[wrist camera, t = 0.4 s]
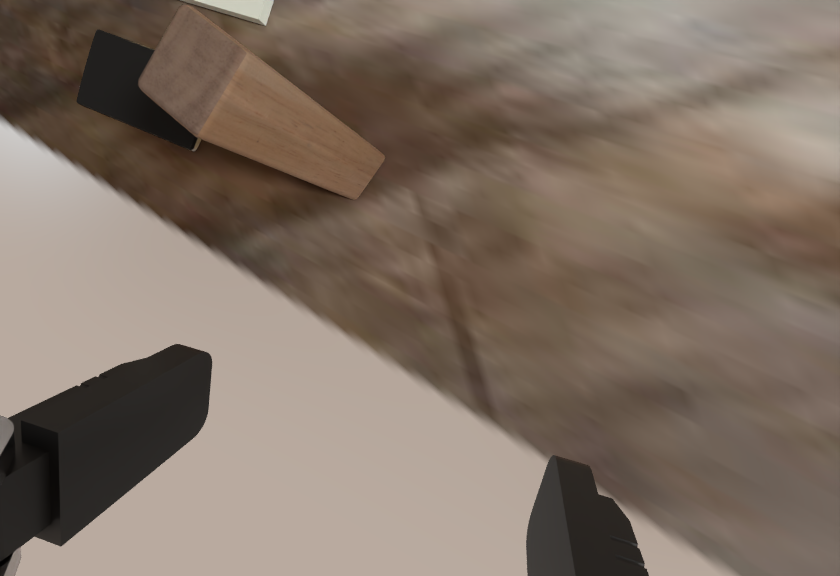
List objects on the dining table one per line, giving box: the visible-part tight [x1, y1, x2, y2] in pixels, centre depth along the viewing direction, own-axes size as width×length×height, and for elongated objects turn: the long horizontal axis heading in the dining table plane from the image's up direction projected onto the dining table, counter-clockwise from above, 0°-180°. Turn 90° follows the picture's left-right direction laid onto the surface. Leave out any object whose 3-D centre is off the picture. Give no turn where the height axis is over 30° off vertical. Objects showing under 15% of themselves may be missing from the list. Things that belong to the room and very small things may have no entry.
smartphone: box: [77, 30, 201, 151], centre depth 42 cm, size 7×1×15 cm
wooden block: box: [138, 4, 385, 200], centre depth 29 cm, size 9×4×18 cm, turn 51°
